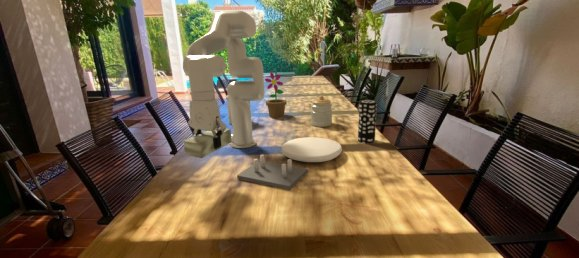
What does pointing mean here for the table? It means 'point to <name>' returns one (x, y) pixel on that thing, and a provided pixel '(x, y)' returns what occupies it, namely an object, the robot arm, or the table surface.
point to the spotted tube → (367, 121)
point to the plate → (311, 149)
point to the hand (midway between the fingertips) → (209, 145)
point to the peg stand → (273, 173)
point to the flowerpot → (275, 105)
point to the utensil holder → (230, 108)
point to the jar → (321, 112)
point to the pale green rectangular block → (205, 143)
